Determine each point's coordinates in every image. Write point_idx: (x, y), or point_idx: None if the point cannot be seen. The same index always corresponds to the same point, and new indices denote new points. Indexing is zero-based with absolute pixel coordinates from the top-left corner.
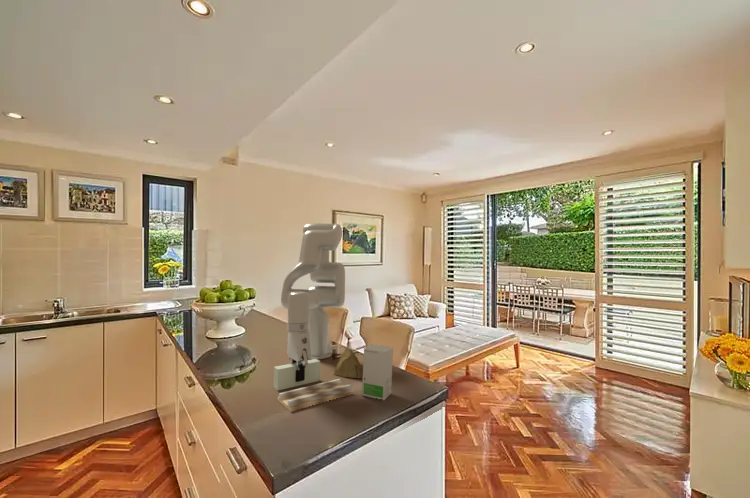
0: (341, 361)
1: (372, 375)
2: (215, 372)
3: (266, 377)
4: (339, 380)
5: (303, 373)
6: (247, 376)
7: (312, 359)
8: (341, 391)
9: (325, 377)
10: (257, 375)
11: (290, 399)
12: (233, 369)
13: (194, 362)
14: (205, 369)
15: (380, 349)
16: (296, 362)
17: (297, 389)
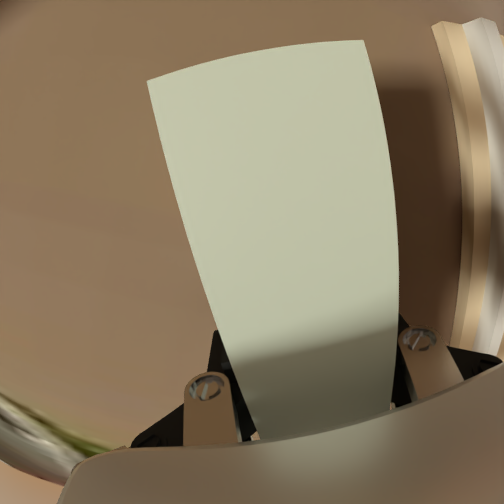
0: None
1: None
2: (65, 475)
3: (115, 409)
4: (496, 35)
5: (400, 315)
6: (98, 447)
7: (174, 159)
8: None
9: (238, 30)
10: (87, 424)
11: (496, 356)
12: (34, 444)
13: (9, 465)
14: (47, 476)
15: None
16: (256, 427)
17: (495, 343)
